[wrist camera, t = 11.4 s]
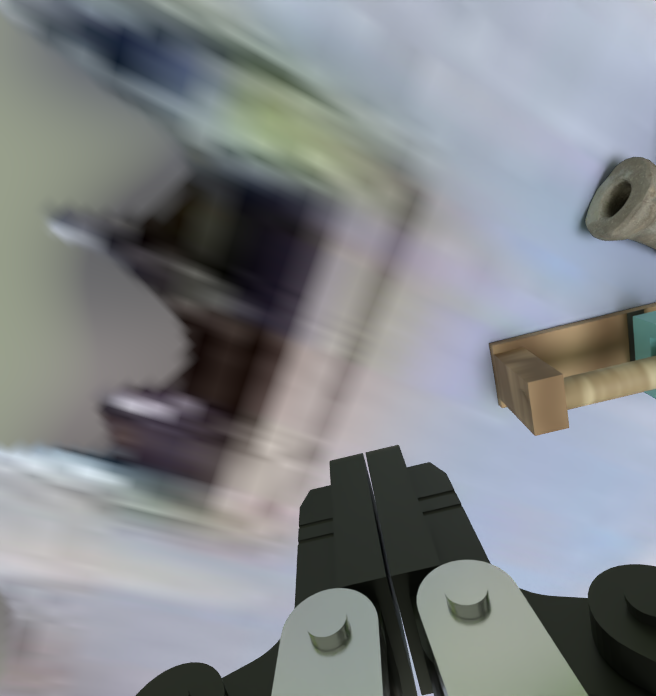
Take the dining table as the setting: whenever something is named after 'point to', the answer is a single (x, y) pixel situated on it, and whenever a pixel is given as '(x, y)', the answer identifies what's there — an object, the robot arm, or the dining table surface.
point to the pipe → (626, 204)
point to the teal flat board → (645, 338)
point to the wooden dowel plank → (570, 368)
